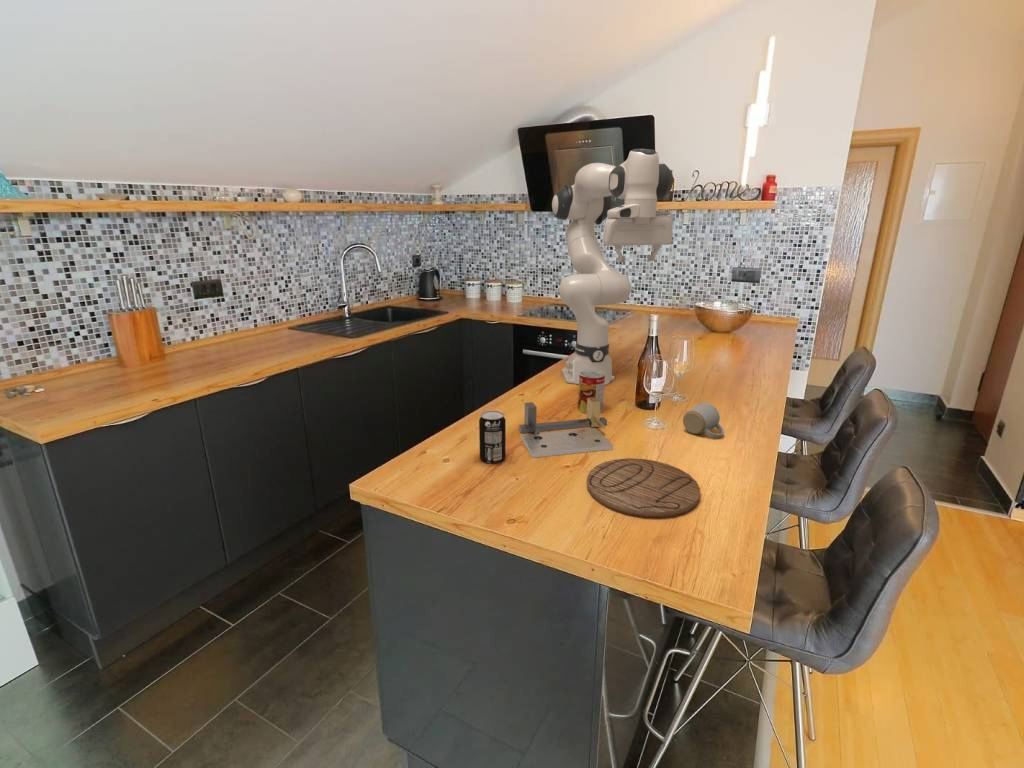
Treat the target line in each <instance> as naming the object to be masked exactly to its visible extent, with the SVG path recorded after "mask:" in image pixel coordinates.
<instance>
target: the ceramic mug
mask: <svg viewBox="0 0 1024 768" xmlns="http://www.w3.org/2000/svg"><path fill="white" fill-rule="evenodd" d="M720 419H721V417H720V413H719V411H718V409H717V408H716V407H715V406H714V405H713V404H711V403H709V402H701V403H699V404H698V405H696V406H694V407H692V408H690V409H689V410H688V411H687V412H685V414H684V415H683V419H682V422H683V423H682V424H683V427H684V428H685V430H686V431H687V432H689V433H690V434H692V435H702V434H703V433H705V435H707V436H708V437H709V438H712V439H720V438H721V437H722V436H724V432H725V431H724V428H723V426H722V425H721V424H720ZM714 428H716V430H718V432H719V434H717V433H714V432H712V431H710V430H712V429H714Z"/></svg>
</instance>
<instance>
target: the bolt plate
mask: <svg viewBox="0 0 1024 768" xmlns="http://www.w3.org/2000/svg"><path fill="white" fill-rule="evenodd" d="M520 441H522V443H523V445H524V447H525V448H526V449H527V451H528V453H529V454H530V456H531V458H533V459H534V458H542V457H553V456H554V457H555V456H562V455H563V456H564V455H571V454H582V453H591V452H592V453H593V452H601V451H609V450H611V451H612V450H613V448H614V445H613V443H612V442H611V441H609V439H607V438H606V437H605V435H603V433H602V432H601V431H600V430H599V429H598V428H597V427H589V428H584V429H583V428H579V429H570V430H569V429H568V430H557V431H550V432H549V431H547V432H540V435H536V433H530V434H529V433H525V434H521V435H520Z"/></svg>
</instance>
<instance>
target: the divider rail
mask: <svg viewBox="0 0 1024 768" xmlns="http://www.w3.org/2000/svg"><path fill="white" fill-rule="evenodd" d="M537 411H538V410H537V405H536V404H535V403H534V401H531V402H524V424H518V430H520V431H519V433H520V434H528V433H527V432H530V433H534V434H536V435H540V433H541V432H549V431H550V432H552V431H563V430H569V429H570V430H574V429H583V428H592V427H591V421H590V420H589V419H586V418H581V419H579V418H578V419H571V420H561V421H558V420H557V421H548V422H537V414H538V413H537ZM599 421H600V422H601V423H602V424H603V425H605V426H607V425H608V420H607V419H606V418H605V417H602V416H601V417H599ZM539 431H541V432H539Z"/></svg>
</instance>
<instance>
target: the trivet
mask: <svg viewBox="0 0 1024 768" xmlns="http://www.w3.org/2000/svg"><path fill="white" fill-rule="evenodd" d="M588 472H589V473H588V474H587V476H586V487H587V488H586V489H587V492H588V493H589V494H590V496H591V498H592V499H593V500H594V501H596V502H597V503H598V504H599V505H601V506H602V507H604V508H607V509H609V510H610V511H612V512H615V513H618V514H621V515H625V516H628V517H633V518H638V519H650V520H651V519H653V520H663V519H670V518H672V519H673V518H676V517H680V516H684V515H687V514H688V513H689V512H691V511H693V510H695V508H696V507H697V505H698V504H699V502H700V495H701V488H700V487H701V486H700V485H699V483H698V482H697V480H695V478H693V477H692V476H691V475H690V474H689V473H687V472H686V471H684V470H682V469H680V468H678V467H676V466H674V465H670V464H669V463H665V462H661V461H657V460H652V459H645V458H630V457H629V458H627V457H626V458H616V459H612V460H608V461H603V462H601V463H599V464H597V465H595V466H594V467H593V468H592V469H591V470H590V471H588Z"/></svg>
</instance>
